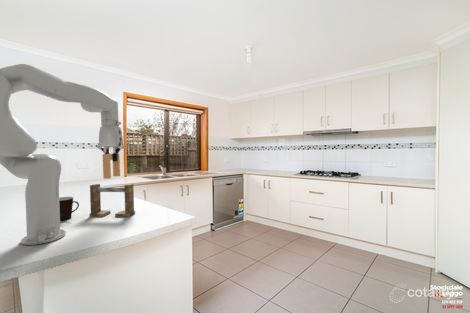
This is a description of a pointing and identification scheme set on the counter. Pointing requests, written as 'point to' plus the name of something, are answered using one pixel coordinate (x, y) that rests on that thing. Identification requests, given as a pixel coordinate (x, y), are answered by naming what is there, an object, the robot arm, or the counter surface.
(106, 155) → the tan c-shaped bracket
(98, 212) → the rack
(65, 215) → the coffee mug
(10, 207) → the counter surface
